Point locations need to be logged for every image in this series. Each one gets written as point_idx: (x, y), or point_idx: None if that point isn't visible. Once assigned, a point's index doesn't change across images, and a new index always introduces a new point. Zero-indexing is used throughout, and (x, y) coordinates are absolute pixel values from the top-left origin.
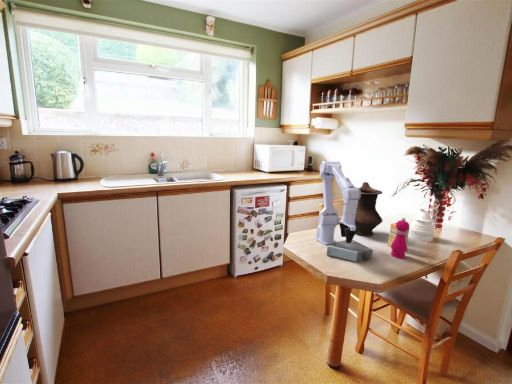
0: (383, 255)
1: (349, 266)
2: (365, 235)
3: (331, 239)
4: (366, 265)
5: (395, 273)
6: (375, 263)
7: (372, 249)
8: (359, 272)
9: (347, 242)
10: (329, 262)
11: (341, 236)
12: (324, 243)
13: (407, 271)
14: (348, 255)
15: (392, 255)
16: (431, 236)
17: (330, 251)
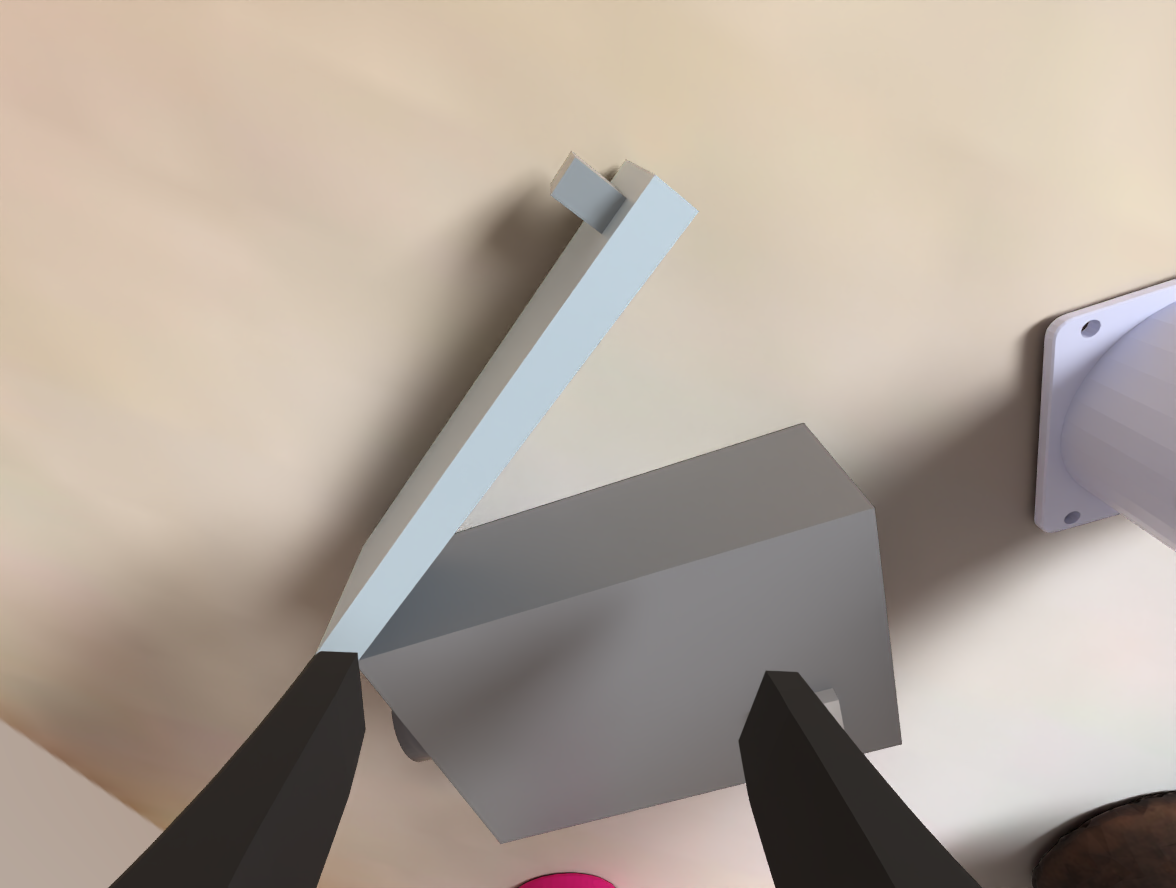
0: (577, 826)
1: (196, 403)
2: (1055, 853)
3: (1111, 473)
4: (292, 620)
5: (157, 784)
6: (370, 715)
7: (502, 842)
8: (22, 467)
9: (307, 678)
10: (279, 83)
11: (788, 672)
12: (1090, 312)
13: None
14: (403, 507)
15: (556, 881)
16: None
17: (587, 236)
